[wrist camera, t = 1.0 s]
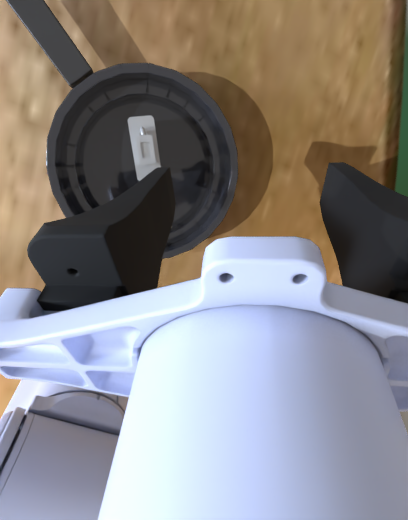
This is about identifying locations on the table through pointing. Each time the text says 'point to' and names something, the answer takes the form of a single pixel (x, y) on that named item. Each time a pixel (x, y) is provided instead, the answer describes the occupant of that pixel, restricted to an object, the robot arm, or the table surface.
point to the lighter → (144, 145)
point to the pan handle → (52, 39)
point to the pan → (121, 154)
